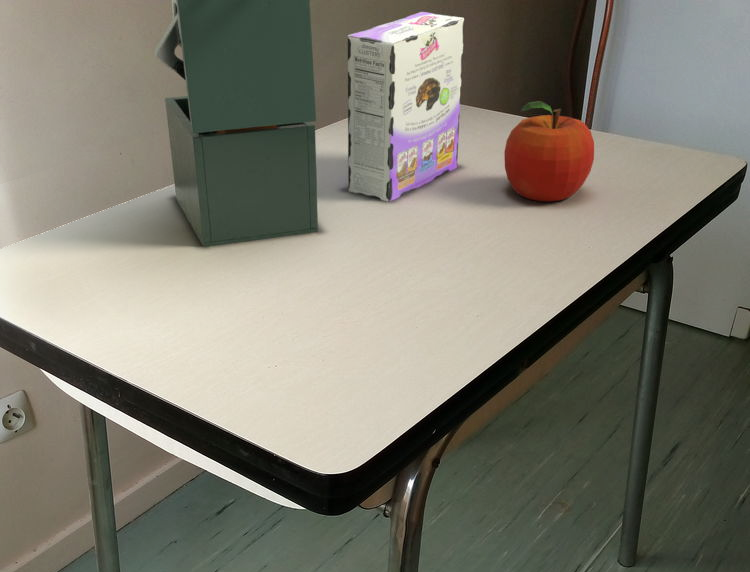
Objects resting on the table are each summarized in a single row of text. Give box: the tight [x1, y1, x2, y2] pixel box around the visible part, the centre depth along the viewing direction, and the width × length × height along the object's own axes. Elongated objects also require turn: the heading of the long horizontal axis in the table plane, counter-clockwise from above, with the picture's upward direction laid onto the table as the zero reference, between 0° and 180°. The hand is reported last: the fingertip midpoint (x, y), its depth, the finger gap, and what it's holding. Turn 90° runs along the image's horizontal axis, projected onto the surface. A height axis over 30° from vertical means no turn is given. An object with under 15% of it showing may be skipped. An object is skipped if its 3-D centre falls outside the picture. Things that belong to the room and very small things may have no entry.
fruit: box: [503, 100, 595, 203], centre depth 107 cm, size 10×10×10 cm
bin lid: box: [176, 0, 317, 133], centre depth 87 cm, size 14×12×5 cm
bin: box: [164, 95, 319, 248], centre depth 101 cm, size 14×12×11 cm
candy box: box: [347, 11, 465, 202], centre depth 108 cm, size 14×6×16 cm, turn 144°
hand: (239, 126), depth 99 cm, fingers closed on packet, 5 cm apart
